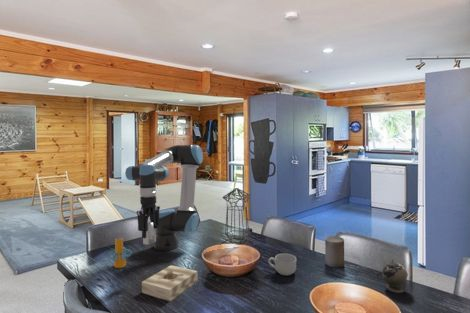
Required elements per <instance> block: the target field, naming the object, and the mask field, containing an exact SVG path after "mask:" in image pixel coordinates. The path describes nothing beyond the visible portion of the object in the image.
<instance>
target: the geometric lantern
mask: <svg viewBox="0 0 470 313" xmlns="http://www.w3.org/2000/svg"><path fill="white" fill-rule="evenodd" d="M237 196H238V197H237ZM250 197H251V194H249V193H247V192H246V191H244V190H242V189H241V188H239V187H235V188H234V189H232V190H231V191H229V192H228V193H226V194H225V195H223V196H222V197H221V198H222V199H223V200H225V202H227V203H229V204H228V205H226V213H225V214H226V217H225V228H226V229H225V231H224V232H225V234H224V235H225V236H226V237H227V238H229V243H232V240H239V241H233V243H235V244H242V243H243V242H245V240H246V237H247V236H248V235H249V234H250V226H249V219H248V218H249V216H248V206H246V205H245V203H246V204H248V203H249V199H250ZM232 200H233V202H231V201H232ZM235 200H236V201H235ZM239 201H242V206H239V205H237V204H238V202H239ZM232 204H234V205H232ZM236 207H237V210H238V221H239V222H238V227H239V228H238V232H239V233H238V234H239V235H236V232H237V229H236ZM230 208H231V209H230ZM244 210H245V228H246V230H244V229H245V228H244V216H243V211H244ZM229 211H233V213H230V214H231V215H230V217H231V218H230V219H231V220H230V230H229ZM240 211H241V212H240ZM240 213H241V214H240ZM233 214H234V217H233ZM240 216H241V217H240ZM233 218H234V220H233ZM233 222H234V223H233ZM241 223H242V230H241ZM233 224H234V225H233ZM233 226H234V229H233V230H232V228H233ZM230 233H231V234H232V235H230ZM241 233H242V235H240V234H241Z"/></svg>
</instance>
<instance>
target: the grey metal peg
mask: <svg viewBox="0 0 470 313" xmlns="http://www.w3.org/2000/svg"><path fill="white" fill-rule="evenodd" d="M147 231H148V245H154V243H155V242H154V223H153V222H151V221H148V223H147Z"/></svg>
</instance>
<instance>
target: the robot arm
mask: <svg viewBox="0 0 470 313" xmlns="http://www.w3.org/2000/svg"><path fill="white" fill-rule="evenodd" d="M203 160H204V154H203V150H202V148H201V146H199V145H197V144H187V145H186V144H183V145H181V144H178V145H177V144H176V145H173V146H170V147H167V148H165V149H163V150H161V151H160V153H159V154H157V155H155V156H153V157H151V158H149V159H148V160H145V161H143V162H141V163H140V164H138V165H130V166H127V167H126V168H125V173H124V175H125V178H126V179H127V180H128V181H139V195H140V197H139V200H140V205H141V207H140V210H137V211H136V215H137V230H138V231H139V232H141V238H142V244H143V245H148V231H147V223H148V222H153V223H154V243H153V248H154V250H156V251H163V252H164V251H165V252H166V251H172V250H175V249H177V248H178V247H179V245H180V243H179V240H178V237H177V235H176V234H177V233H176V232H178V233H179V232H180V233H193V232H195V231H196V229H197V228H198V226H199V223H200V222H199V221H200V217H199V214H198V213H197V210H196V208H195V195H196V179H197V169H199V168H200V164H202V163H203ZM171 164H180V167H181V168H182V174H181V186H180V200H179V207H178V208H177V209H176V210H175V209H174V208H167V209H162V210H160V209H161V206H160V205H156V204H157V196H156V194H157V189H156V188H157V182H163V181H164V180H167V179H168V178H169V175H170V171H169V169H168V167H166V166H167V165H171ZM149 220H150V221H149Z"/></svg>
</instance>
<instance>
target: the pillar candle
mask: <svg viewBox="0 0 470 313" xmlns="http://www.w3.org/2000/svg"><path fill="white" fill-rule="evenodd" d="M324 240H325V241H324V242H325V243H324V246H325V250H324V252H325V265H327V266H328V267H330V268H335V269H336V268H338V269H339V268H342V267H344V266H345V239H344V238H343V237H341V236H337V235H336V236H334V235H333V236H332V235H330V236H326V237H325V238H324Z"/></svg>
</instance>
